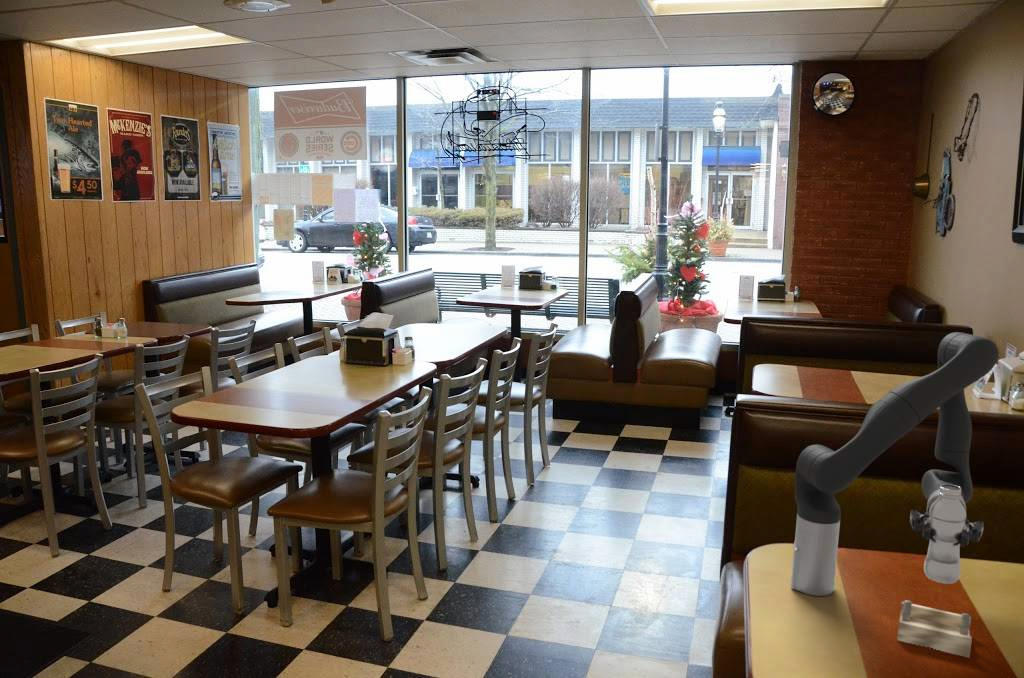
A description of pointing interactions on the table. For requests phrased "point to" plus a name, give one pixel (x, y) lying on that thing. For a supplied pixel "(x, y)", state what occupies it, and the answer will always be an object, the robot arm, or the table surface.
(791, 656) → the table surface
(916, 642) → the caddy
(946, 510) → the plastic bottle
